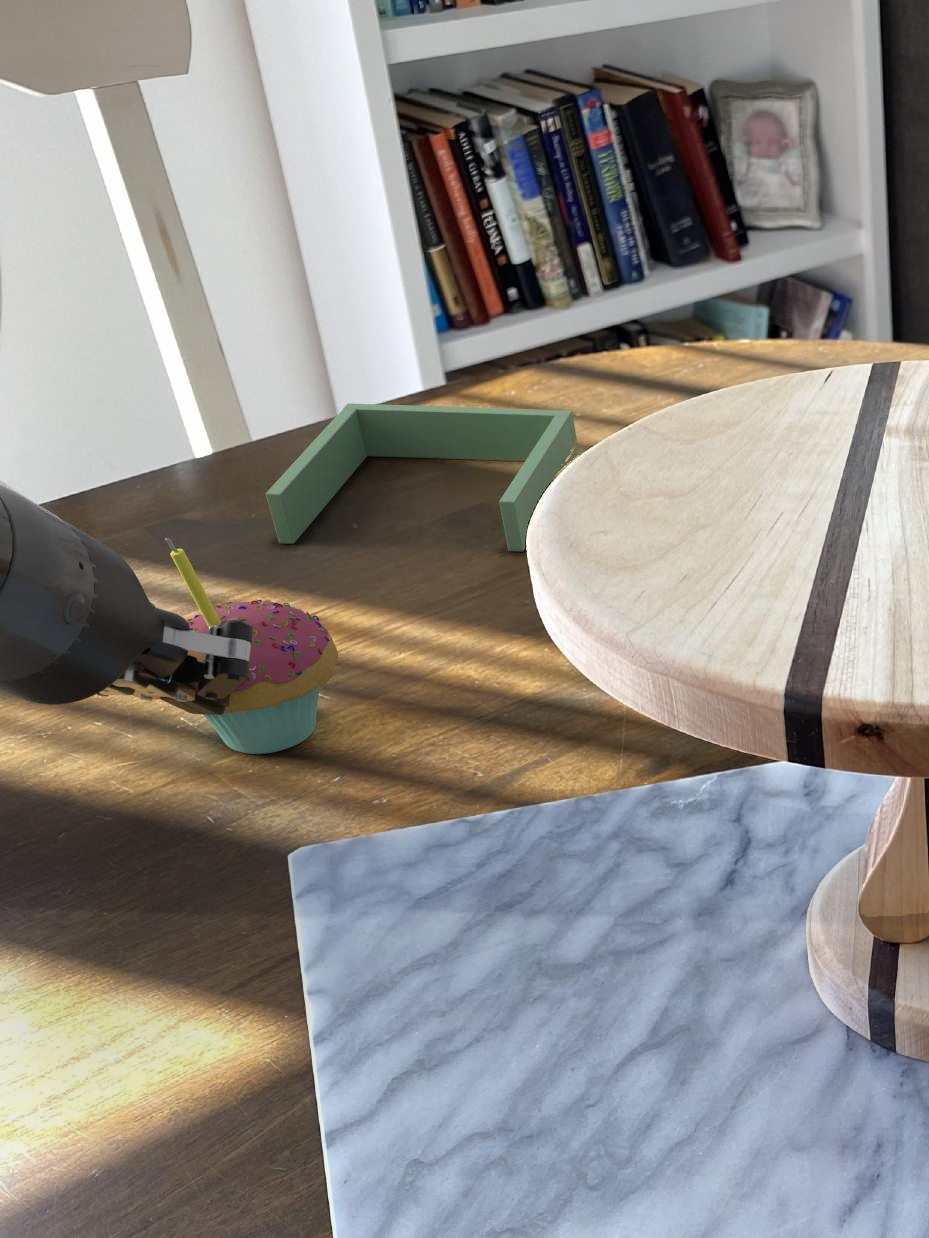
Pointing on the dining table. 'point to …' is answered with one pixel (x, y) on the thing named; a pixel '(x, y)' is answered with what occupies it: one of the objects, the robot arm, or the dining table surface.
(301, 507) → the corral
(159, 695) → the robot arm
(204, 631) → the cupcake
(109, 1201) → the dining table surface
